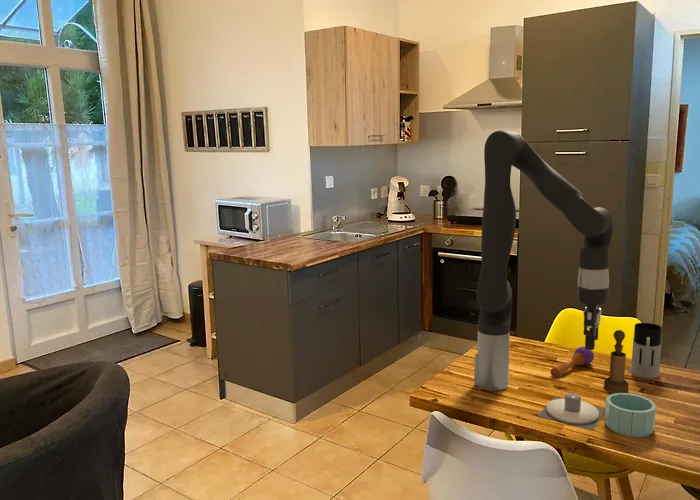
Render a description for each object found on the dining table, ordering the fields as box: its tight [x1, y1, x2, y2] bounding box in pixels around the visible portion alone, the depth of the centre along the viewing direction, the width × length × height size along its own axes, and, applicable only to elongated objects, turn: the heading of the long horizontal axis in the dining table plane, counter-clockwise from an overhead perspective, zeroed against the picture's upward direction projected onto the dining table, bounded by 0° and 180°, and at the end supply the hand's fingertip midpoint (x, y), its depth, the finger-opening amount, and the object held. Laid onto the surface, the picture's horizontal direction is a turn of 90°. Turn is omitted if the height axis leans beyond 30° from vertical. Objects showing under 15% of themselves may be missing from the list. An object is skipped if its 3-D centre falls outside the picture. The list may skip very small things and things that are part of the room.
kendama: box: [550, 345, 595, 379], centre depth 185 cm, size 6×6×20 cm
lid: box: [546, 393, 599, 424], centre depth 154 cm, size 13×13×4 cm
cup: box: [604, 392, 657, 438], centre depth 146 cm, size 11×11×7 cm
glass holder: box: [629, 322, 663, 379], centre depth 177 cm, size 9×14×15 cm, turn 154°
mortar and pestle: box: [603, 329, 630, 394], centre depth 167 cm, size 7×6×18 cm
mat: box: [537, 396, 606, 431], centre depth 154 cm, size 14×14×1 cm
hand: (591, 344), depth 153 cm, fingers open, 8 cm apart
